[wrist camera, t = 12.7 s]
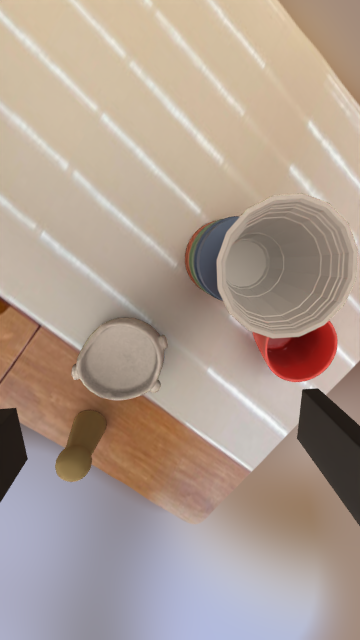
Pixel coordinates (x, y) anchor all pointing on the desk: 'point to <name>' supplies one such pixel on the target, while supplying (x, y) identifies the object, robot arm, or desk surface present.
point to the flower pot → (299, 353)
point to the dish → (121, 359)
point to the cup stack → (207, 254)
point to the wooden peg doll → (80, 446)
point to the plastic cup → (287, 265)
